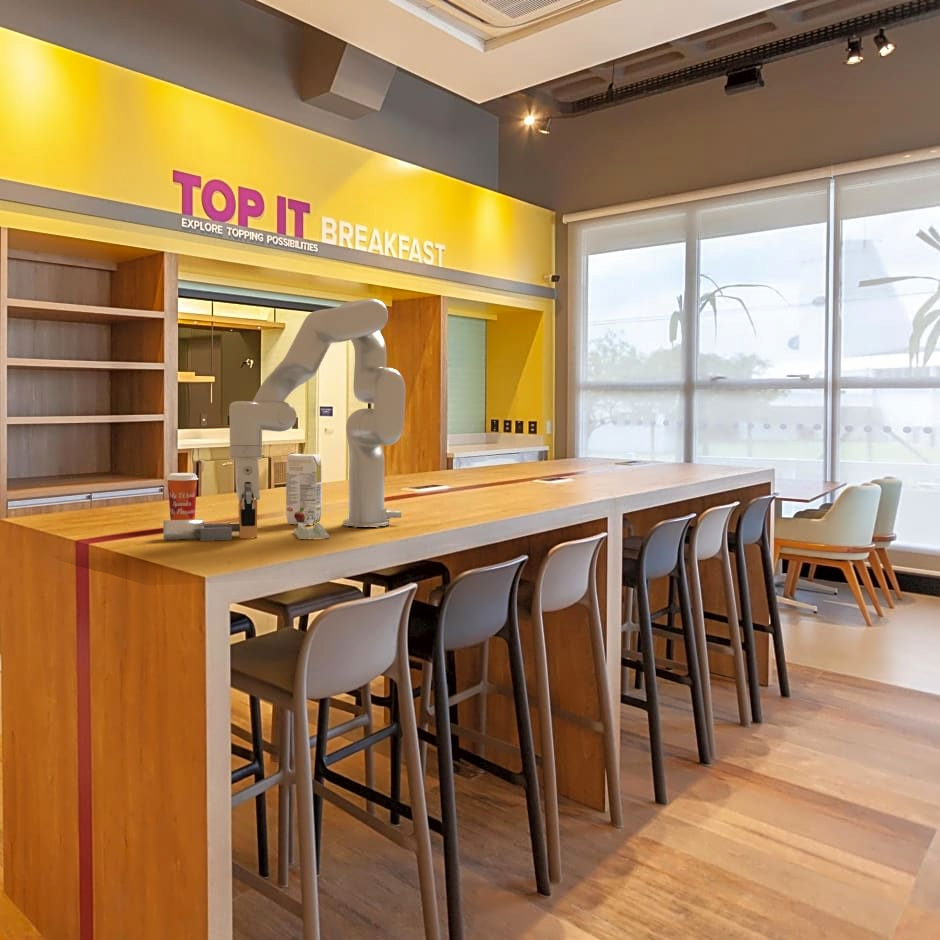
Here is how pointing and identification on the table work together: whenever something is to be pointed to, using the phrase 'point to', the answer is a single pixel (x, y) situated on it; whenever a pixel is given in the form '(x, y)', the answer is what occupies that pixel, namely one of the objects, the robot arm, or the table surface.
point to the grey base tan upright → (243, 530)
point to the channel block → (216, 533)
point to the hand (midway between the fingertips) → (246, 522)
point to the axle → (182, 529)
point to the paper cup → (182, 495)
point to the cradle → (310, 531)
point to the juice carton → (303, 488)
